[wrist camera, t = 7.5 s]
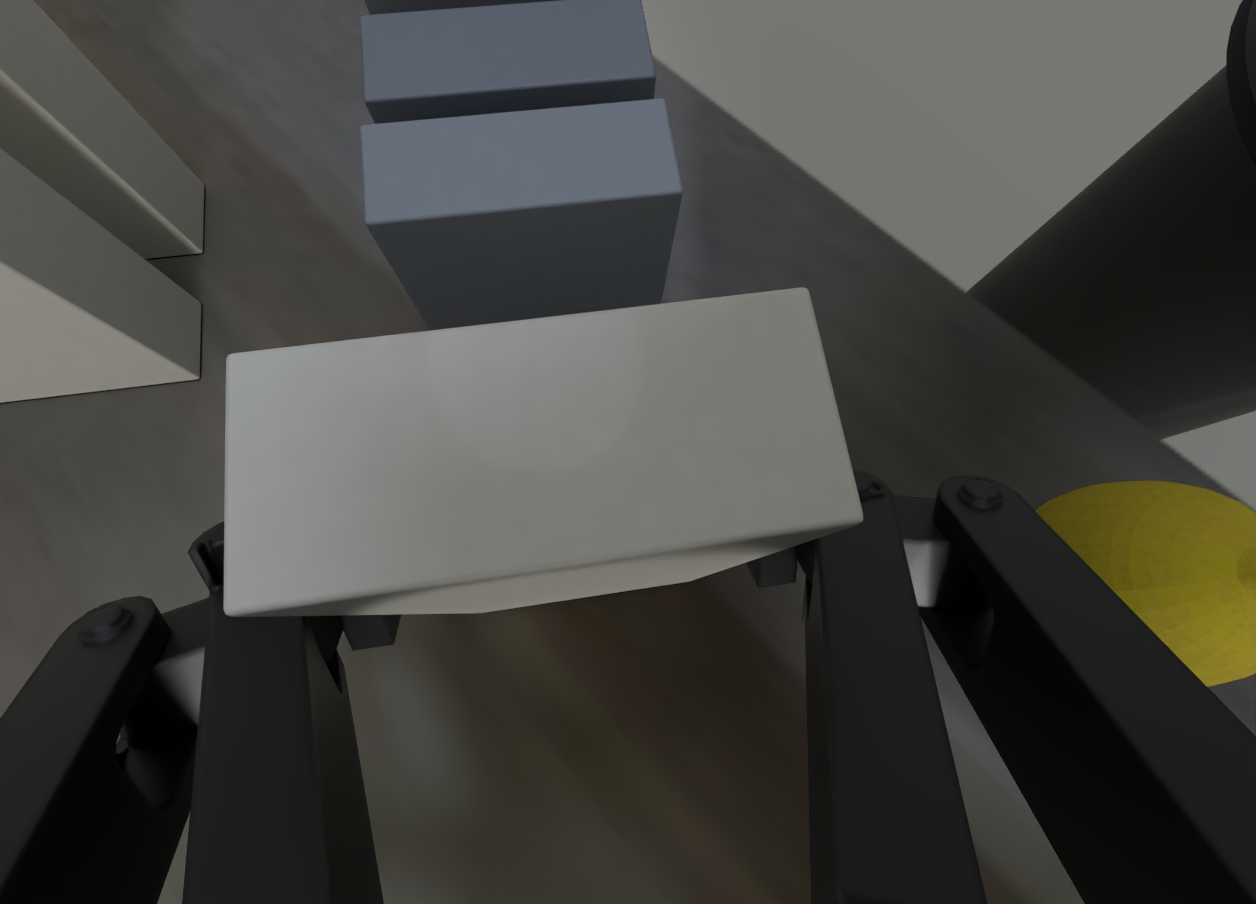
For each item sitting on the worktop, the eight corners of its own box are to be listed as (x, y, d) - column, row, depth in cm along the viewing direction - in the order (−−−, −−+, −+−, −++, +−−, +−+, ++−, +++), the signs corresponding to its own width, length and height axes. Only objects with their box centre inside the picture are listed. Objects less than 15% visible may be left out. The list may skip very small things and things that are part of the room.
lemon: (1135, 568, 21) (1443, 543, 13) (1069, 709, 20) (1365, 771, 12) (994, 475, 22) (1210, 401, 14) (920, 607, 21) (1114, 605, 13)
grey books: (651, 354, 22) (686, 179, 13) (457, 378, 22) (356, 212, 13) (613, 130, 25) (620, -149, 16) (437, 146, 24) (339, -132, 15)
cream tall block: (691, 581, 20) (869, 522, 7) (479, 613, 20) (219, 618, 6) (676, 493, 21) (809, 283, 8) (470, 522, 21) (222, 351, 7)
